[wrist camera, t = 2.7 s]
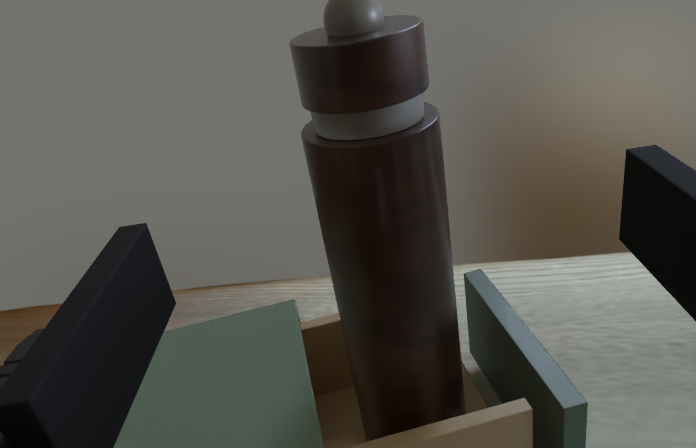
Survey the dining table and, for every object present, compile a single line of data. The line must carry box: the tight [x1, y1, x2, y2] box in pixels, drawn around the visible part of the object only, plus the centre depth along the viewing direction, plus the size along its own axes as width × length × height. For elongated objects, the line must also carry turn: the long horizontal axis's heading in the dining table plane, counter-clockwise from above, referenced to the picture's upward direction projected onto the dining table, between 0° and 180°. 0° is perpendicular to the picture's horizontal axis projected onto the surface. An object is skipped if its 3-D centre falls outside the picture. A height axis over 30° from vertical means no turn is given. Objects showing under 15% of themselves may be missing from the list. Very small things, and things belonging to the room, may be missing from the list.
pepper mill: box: [290, 0, 466, 442], centre depth 27 cm, size 6×6×24 cm
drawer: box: [300, 269, 588, 448], centre depth 32 cm, size 15×12×7 cm
